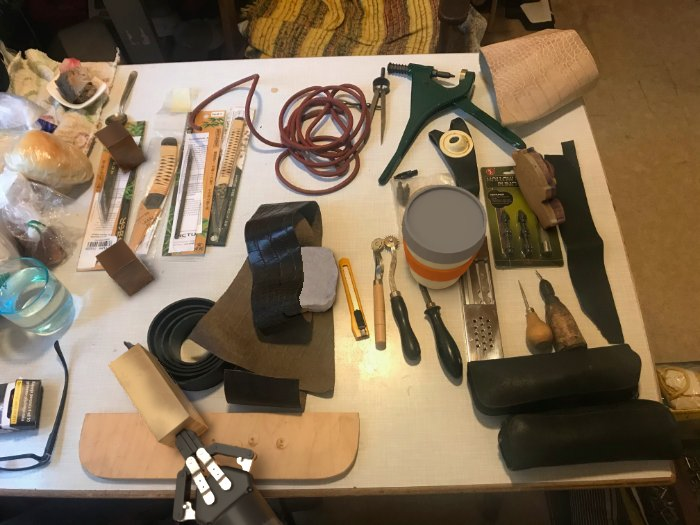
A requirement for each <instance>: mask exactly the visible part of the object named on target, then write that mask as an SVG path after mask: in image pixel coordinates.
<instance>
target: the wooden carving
mask: <svg viewBox="0 0 700 525" xmlns="http://www.w3.org/2000/svg"><path fill="white" fill-rule="evenodd" d="M511 157H512V158H511V159H512V160H513V162H514V164H515V166H513V167H512V168H513V172H514V176H515V178H516V182H517V184H518V187H519V189H520V191H521V193H522V195H523V198H524V199H525V201H526V203H527V205H528V206H529V208H530V210H531V211H532V212H533V213H534V214H535V215H536V216H537V219H538V221H539V223H540V225H541V227H542V229H544V230H547V229H549V228H552V227H555V226H561V225H562V224H565V222H566V216H565V215H566V214H565V210H564V207H563V205H562V203H561V201H560V200H559V199H558V198H556V196H557V186H556V185H557V180H556V178H555V175H556V174H555V168H554V165H553V164H552V163H551V162H549V160H547V159H545V158H544V156H543V154H542V153H540V152H538V151H537V150H536V149H535V147H533V146H529V147H528V148H521V149H518V150H513V151H512V152H511Z"/></svg>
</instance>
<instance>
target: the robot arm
mask: <svg viewBox="0 0 700 525" xmlns="http://www.w3.org/2000/svg"><path fill="white" fill-rule="evenodd" d="M175 436H176V438H177V440H176V441H175V446H176V447H177V449H178V450H179V451H178V452H179V454H180V455H181V457H182V458H183V460H184V465H183V467H182V468H181V469H180V470H179V471H178V472H177V474H176V482H175V489H174V490H175V491H174V500H173V509H172V510H173V511H172V519H173V520H174V521H175V522H176V521H177V522H186V521H188V520H191V521H192V520H195V522H196V523H197V524H199V525H285V524H284V523H283V521H281V520H280V519H279V518H278V516H277V514H276V513H275V512H274V510H273V509H272V508H271V506H270V505H269V503H268V502H267V501H266V498H264V497H263V495H262V493H261V492H260V491H259V489H258V488H257V486H256V484H255V479H254V475H253V473H252V469H253V464H254V462H255V461H256V460H257V459H258V454H257V453H256V451H254V450H252V449H250V448H245V447H240V446H236V445H231V444H225V443H221V442H213V443H211V444H210V445H207V446H206V445H205V444H204V442H203V441H202V439H201V438H200V436H198V435H197V434H196V433H195V432H194V431H192V430H190V429H189V430H186V429H185V428H184V429H183V430H182V431H180V432H179V433H178V434H177V435H175ZM218 455H219V456H223V457H229V458H234V459H236V462H237V464H238V465H240V466H241V467H242V468H238V467H235V466H234V467H233V466H230V465H226V464H225V465H222V464H221V463H220V462H219V461H218V460H217V459H216V458H215V456H218ZM203 465H204V466H203ZM204 467H205V468H206V469H205V468H204ZM206 470H207V471H208V472H209V473H208V472H207V471H206ZM192 481H194V483H195V485H196V488H195V501H194V504H193V503H192V502H191V492H192Z"/></svg>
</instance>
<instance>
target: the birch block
mask: <svg viewBox="0 0 700 525" xmlns="http://www.w3.org/2000/svg"><path fill="white" fill-rule="evenodd" d="M158 359H159V358H157V356H155V355H154V354H153V353H151V352H150V351H149V350H148V349H147V348H145V347H144V346H143V345H142V344H140V343H139V342H137V343H136V344H134V345H133V346H132V347H130V348H129V349H127V350H126V351H124V353H122V354H121V355H119V356H118V357H117V358H115V359H114V360H113V361H112V362H109V363H108V365H107V367H108V368H109V369H110V371H111V372H112V374H113V375H114V377H115V379H116V380H117V382H118V384H119V385H120V386H121V388H122V389H123V391H124V393H125V394H126V395H127V397H128V398H129V400H130V402H131V403H132V404H133V406H134V407H135V409H136V411H137V413H138V414H139V415H140V417H141V418H142V420H143V421H144V423H145V425H146V426H147V428H148V429H149V431H150V432H151V434H152V436H153V437H154V438H155V440H156V442H158V443H159V444H161V445H164V446H166V447H169V448H171V449H173V450H175V451H177V452H179V450H178V449H177V447H176V446H175V441H176V440H177V438H176V436H175V435H177V434H178V433H179V432H180V431H182V430H183V429H184V428H185V429H186V430H189V429H190V430H192V431H194V432H195V433H196V434H197V435H198V436H199V437H201V436H202V435H203V434H204V433H206V432H207V431H208V430H209V427H208V424H206V423H205V421H204V419H203V418H202V417H201V416H200V414H199V412H198V411H197V410H196V409H195V408H196V407H194V405H193V404H192V402H190V400H189V398H188V397H187V396H186V394H185V393H184V392H183V390H182V388H181V387H180V386H179V385H178V383H177V382H176V384H175V383H174V382H173V380H172V379H171V378H170V376H169V375H168V373H167V372H166V371H165V369H164V368H163V366H162V365H161V364H160V362H159V361H158Z"/></svg>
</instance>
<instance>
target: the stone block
mask: <svg viewBox="0 0 700 525" xmlns="http://www.w3.org/2000/svg"><path fill="white" fill-rule="evenodd" d="M301 255H302V261H303V272H304V282H303V288H302V291H301V294H300V296H299V299H300V300H299V301H300V305H301V307H302V308H306V309H307V308H309V309H312V310H309V312H314V313H321V312H323V313H324V312H327V311H328V310H329V309H331V307H332V306H333V304H334V302H335V299H336V294H337V293H336V292H337V285H338V278H339V268H338V265H337V263H336V260H335V256H334V253H333V251H332V250H331V249H330V248H328V247H325V246H302V247H301ZM309 312H308V313H309Z"/></svg>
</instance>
